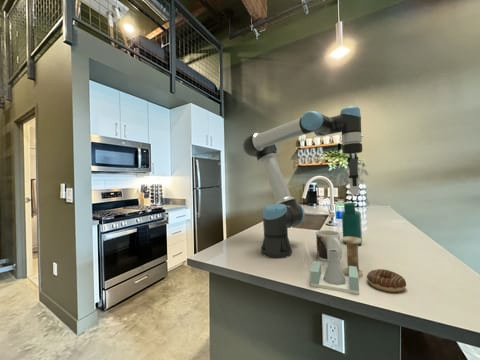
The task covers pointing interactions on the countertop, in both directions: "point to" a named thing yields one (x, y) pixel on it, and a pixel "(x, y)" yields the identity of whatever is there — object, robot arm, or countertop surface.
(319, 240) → the mug
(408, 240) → the countertop surface
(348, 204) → the green bottle
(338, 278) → the flask
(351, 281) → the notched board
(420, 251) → the countertop surface
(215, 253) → the countertop surface
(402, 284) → the donut
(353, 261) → the bobbin
